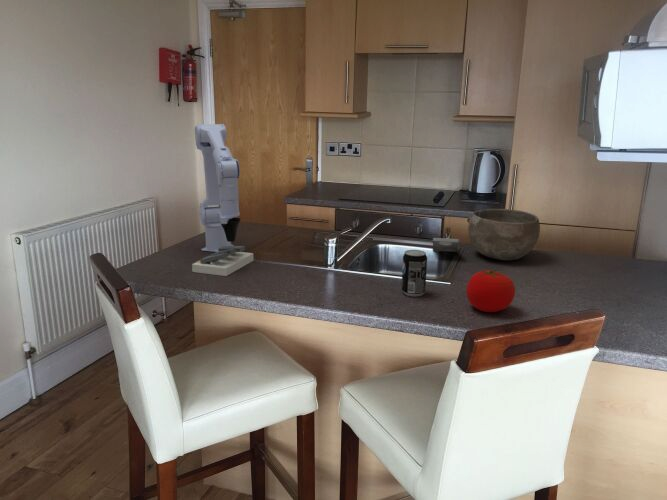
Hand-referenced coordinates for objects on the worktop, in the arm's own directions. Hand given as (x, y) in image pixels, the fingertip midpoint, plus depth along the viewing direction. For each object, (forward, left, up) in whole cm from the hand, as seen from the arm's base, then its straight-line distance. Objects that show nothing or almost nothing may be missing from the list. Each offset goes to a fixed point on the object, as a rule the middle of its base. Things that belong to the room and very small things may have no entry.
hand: (231, 241), depth 175 cm
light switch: (-38, +63, -9) cm, 74 cm away
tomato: (+9, +81, -9) cm, 82 cm away
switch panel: (0, -3, -9) cm, 9 cm away
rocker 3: (-6, -3, -5) cm, 8 cm away
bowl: (-44, +81, -9) cm, 93 cm away
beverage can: (+4, +60, -9) cm, 61 cm away
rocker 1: (+5, -3, -5) cm, 8 cm away
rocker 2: (0, -3, -5) cm, 6 cm away
